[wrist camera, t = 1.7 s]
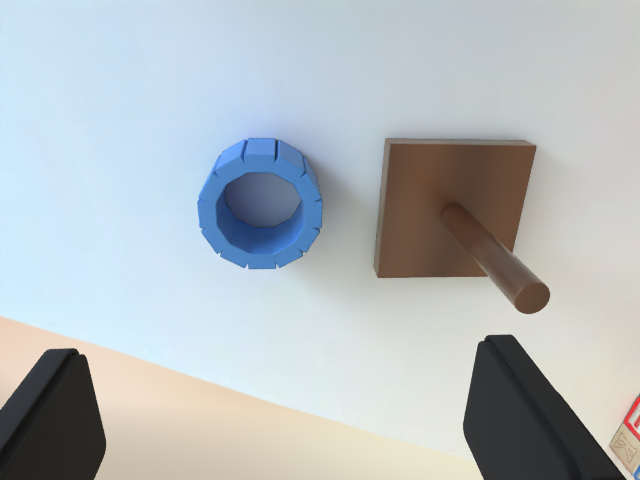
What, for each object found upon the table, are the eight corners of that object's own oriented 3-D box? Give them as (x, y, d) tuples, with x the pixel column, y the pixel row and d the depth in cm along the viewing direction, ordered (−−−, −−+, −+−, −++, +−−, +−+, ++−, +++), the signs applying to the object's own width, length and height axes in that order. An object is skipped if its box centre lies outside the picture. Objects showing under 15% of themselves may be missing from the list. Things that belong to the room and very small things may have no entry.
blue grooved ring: (212, 241, 30) (202, 270, 26) (204, 137, 27) (193, 153, 24) (315, 240, 31) (320, 268, 27) (318, 138, 28) (324, 155, 24)
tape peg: (373, 267, 32) (419, 383, 21) (384, 138, 28) (447, 201, 18) (497, 266, 33) (600, 377, 22) (525, 140, 29) (664, 201, 18)
